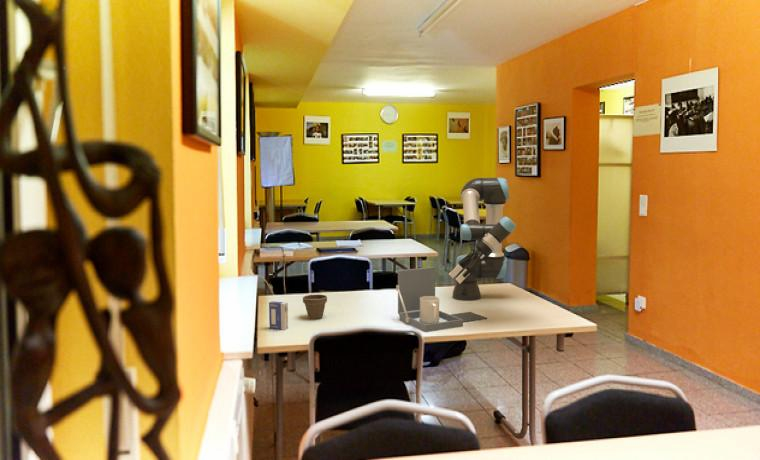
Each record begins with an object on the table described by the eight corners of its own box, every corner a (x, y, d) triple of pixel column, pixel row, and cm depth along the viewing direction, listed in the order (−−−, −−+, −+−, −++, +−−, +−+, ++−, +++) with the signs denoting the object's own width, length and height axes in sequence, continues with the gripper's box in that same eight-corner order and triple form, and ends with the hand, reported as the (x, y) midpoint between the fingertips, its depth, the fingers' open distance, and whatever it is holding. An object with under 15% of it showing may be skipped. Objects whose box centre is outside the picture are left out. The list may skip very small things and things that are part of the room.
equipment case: (396, 319, 274) (396, 270, 271) (433, 314, 283) (433, 267, 281) (423, 332, 253) (423, 279, 250) (462, 326, 262) (463, 275, 260)
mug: (417, 320, 272) (417, 296, 271) (435, 319, 275) (435, 295, 273) (425, 327, 261) (425, 302, 260) (444, 325, 263) (444, 301, 262)
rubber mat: (444, 316, 279) (444, 315, 279) (470, 312, 286) (470, 311, 286) (460, 323, 267) (460, 321, 267) (487, 318, 274) (487, 317, 274)
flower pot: (298, 317, 279) (298, 296, 278) (319, 313, 286) (318, 292, 285) (311, 322, 270) (310, 300, 269) (331, 318, 277) (331, 297, 276)
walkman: (269, 328, 259) (268, 301, 258) (272, 327, 262) (272, 300, 261) (285, 330, 257) (284, 303, 255) (288, 328, 259) (287, 301, 258)
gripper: (474, 236, 278) (442, 268, 278) (489, 242, 254) (454, 277, 253) (485, 247, 279) (453, 279, 279) (501, 254, 255) (466, 289, 254)
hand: (454, 278), depth 266 cm, fingers open, 13 cm apart
